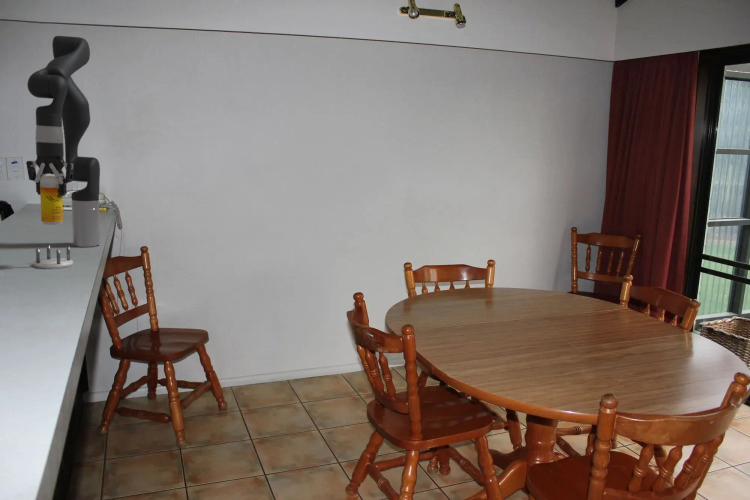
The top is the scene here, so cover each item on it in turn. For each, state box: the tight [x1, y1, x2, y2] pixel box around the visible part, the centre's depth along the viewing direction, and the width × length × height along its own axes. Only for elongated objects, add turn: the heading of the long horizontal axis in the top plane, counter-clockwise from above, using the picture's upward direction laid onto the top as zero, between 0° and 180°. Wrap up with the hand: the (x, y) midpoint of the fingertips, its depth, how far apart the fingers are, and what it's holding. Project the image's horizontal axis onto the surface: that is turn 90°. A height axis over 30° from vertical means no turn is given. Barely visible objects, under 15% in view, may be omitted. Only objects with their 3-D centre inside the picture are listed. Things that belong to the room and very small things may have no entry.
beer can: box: [39, 175, 64, 226], centre depth 188 cm, size 6×6×15 cm
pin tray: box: [33, 244, 74, 270], centre depth 191 cm, size 11×11×6 cm
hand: (51, 195), depth 188 cm, fingers closed on beer can, 6 cm apart
